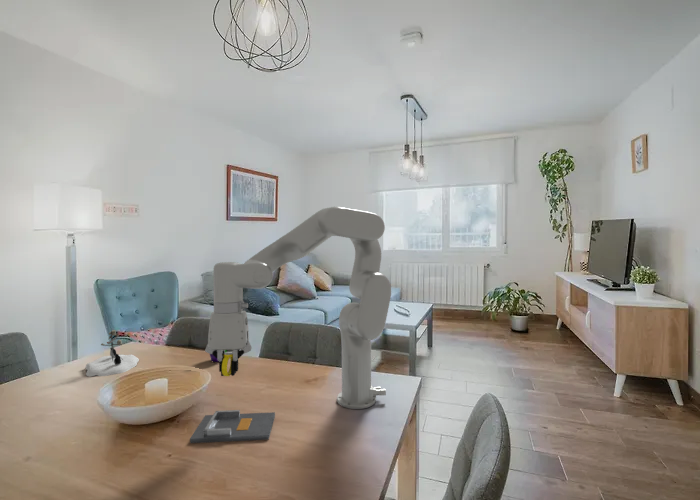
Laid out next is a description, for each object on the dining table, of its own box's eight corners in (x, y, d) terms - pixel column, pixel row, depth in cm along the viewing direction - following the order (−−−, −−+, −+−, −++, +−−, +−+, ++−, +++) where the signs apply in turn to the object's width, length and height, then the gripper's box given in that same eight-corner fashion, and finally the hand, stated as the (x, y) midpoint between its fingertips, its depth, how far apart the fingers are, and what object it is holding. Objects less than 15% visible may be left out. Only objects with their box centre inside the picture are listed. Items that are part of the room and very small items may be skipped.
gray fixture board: (274, 416, 104) (274, 407, 104) (268, 439, 92) (268, 429, 92) (205, 419, 103) (205, 410, 103) (190, 443, 91) (189, 433, 91)
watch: (229, 379, 94) (229, 357, 93) (219, 378, 94) (218, 356, 94) (238, 370, 100) (237, 349, 99) (228, 370, 100) (228, 349, 100)
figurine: (91, 360, 150) (89, 323, 148) (140, 355, 157) (139, 319, 155) (78, 382, 132) (76, 341, 130) (134, 375, 139) (133, 335, 137)
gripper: (260, 304, 101) (260, 368, 101) (203, 305, 99) (203, 369, 100) (255, 309, 93) (255, 378, 94) (193, 310, 92) (194, 380, 92)
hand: (228, 373), depth 97 cm, fingers closed on watch, 2 cm apart
